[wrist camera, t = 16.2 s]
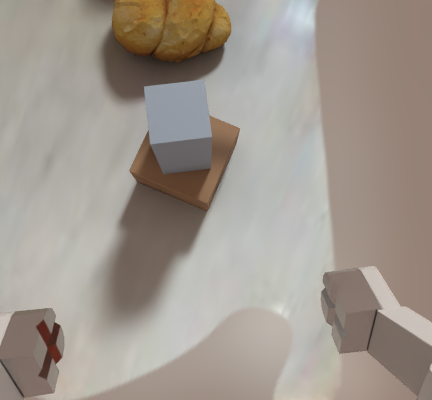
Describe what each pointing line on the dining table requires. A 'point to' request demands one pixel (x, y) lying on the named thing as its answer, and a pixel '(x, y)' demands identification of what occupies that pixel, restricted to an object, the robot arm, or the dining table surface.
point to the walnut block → (191, 180)
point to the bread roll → (170, 27)
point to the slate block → (179, 126)
